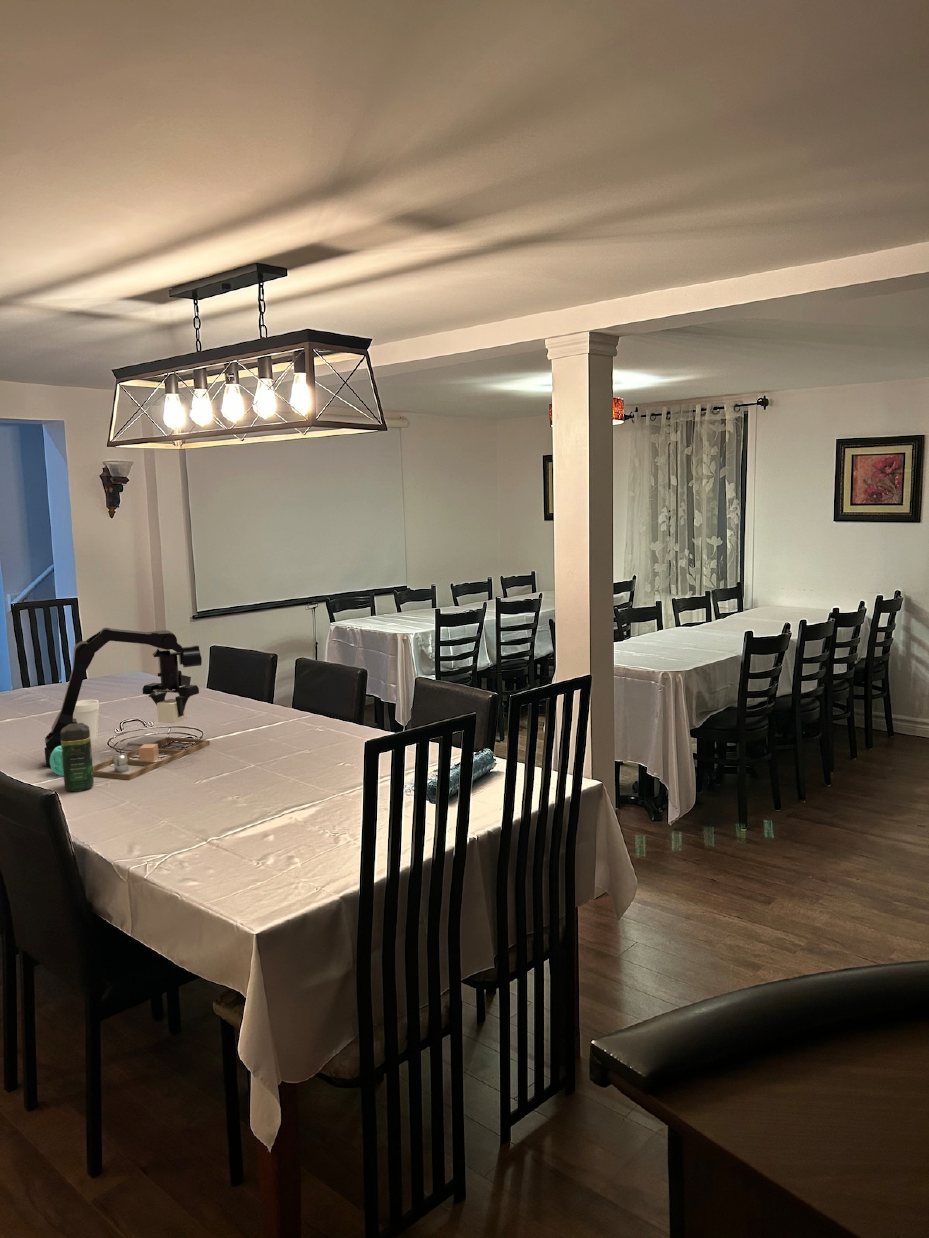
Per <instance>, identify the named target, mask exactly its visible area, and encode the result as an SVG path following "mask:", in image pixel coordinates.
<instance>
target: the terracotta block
mask: <svg viewBox="0 0 929 1238" xmlns="http://www.w3.org/2000/svg"><path fill="white" fill-rule="evenodd" d="M138 748H139V754H138V756H139V760H142V761H153V762H156V760H158V757H159V758H160V754H159V752H158V749H159V746H158V744H144V745H142V746H139V747H138Z"/></svg>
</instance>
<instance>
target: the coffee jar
mask: <svg viewBox="0 0 929 1238" xmlns="http://www.w3.org/2000/svg"><path fill="white" fill-rule="evenodd" d="M60 735H61V748H62V760H63V771H64V776H63V785H64V790H65V791H68V792H69V791H71V792H81V791H84V790H88V789H91V788H92V787H93V785H94V776H93V766H94V765H93V754H92V742H91V741H92V740H91V739H90V730H89V726H87V725H85V724H83V723H74V724H68V725H67V726H66V727H64V728H63V729H62V730H61V733H60Z"/></svg>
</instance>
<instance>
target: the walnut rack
mask: <svg viewBox="0 0 929 1238" xmlns="http://www.w3.org/2000/svg"><path fill="white" fill-rule="evenodd" d="M171 741H178V742H195V743H196V744H194V745H193V746H191V747H188V748H187V749H185V750H184V749H183V750H181V749H178V750H177V749H168V748H167V749H166V748H158V752H159V753H164V754H163V755H167V754H172V755H169V756H168V757H166V758H163V759H161V760H157V761H142V760H140V759H131V757H133V756H136V755H138V754H137V753H139V748H140V747H138V748H136V749H132V750H131V751H127V752H125V754H127V758H128V766H137V767H138V766H139V767H142V768H140V769H138V770H137V769H136V770H135V771H133V772H131V773H115V772H113V771H111V772H110V771H99V770H102V769H104V768H106V767H109V766H111V765H114V758H113V757H112V758H110V759H107V760H105V761H103V762H100V763H97V764H94V765H93V777H95V778H96V777H98V778H106V779H118V780H126V781H130V780H132V779H135V778H138V777H139V776H142V775H145V774H146V773H149V772H151V771H153V770H155V769H158V768H160V767H164V765H167V764H170V763H171V762H172V763H173V762H174V761H176V760H178V759H181V758H183V757H185V756H188V755H189V754H191V753H194V752H197V751H198V750H201V749H203V748H206V747H208V746H210V744H211V743H210V740H206V739H194V738H182V737H171V736H165V737H163V739H160V740H158V741H155V742H153V743H150V744H158V745H159V746H161V745H163V744H162V743H164V744H166V743H172V742H171ZM160 744H161V745H160ZM129 758H130V759H129Z"/></svg>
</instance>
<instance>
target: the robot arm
mask: <svg viewBox="0 0 929 1238" xmlns="http://www.w3.org/2000/svg"><path fill="white" fill-rule="evenodd" d="M109 642H120V643H132V644H139V645H142V644H143V645H148V646H152V647H154V648H156V650H155V651H154V652H153V653H152V656H153V657H154V658H158V660H159V663H158V664H159V672H158V673H157V677H160V682H152V683H147V684H145V685H143V686H142V689H141V690H142V694H143V695H148V698H151V699H152V701H153V703H155V705H156V706H157V703H159V702H162V701H165V700H166V699H165V698H166V696H167V693H173V694H174V693H175V694H177V695H178V696H175V698H174V699H176V703H177V708H178V712H179V715H180V716H182V715H183V712H184V709H185V705H186V706H187V702H188V700H189V699H190V697H193V696H195V695H198V694H200V688H199V686H198V684H197V685H196V684H191V681H192V677H191V676H188V675H184V674H182V670H179V665H180V666H182V667H183V668H191V667H200V666H202V659H203V658H202V655H201V651H200V645H192V646H184V647H183V646H182V645H181V644H179V643H178V638H177V636H176V635H175V634H174V633H173V632H172V631H170V630H166V629H164V630H153V631H141V630H140V631H138V630H129V629H119V628H118V629H117V628H110V627H103V628H102V629H100V630H99V631H98V632H97V633H95V634H94V635H92V636H90V637H89V638H87V639H86V640H81V641H79V642H78V643H76V644H75V645H74V647H73V659H72V670H71V673H70V677H69V681H68V685H67V688H66V690H65V693H64V698H63V701H62V702H63V703H62V705H61V708H60V711H59V712H58V714H57V716H56V718H55V720H54V722H53V724H52V726H51V731H50V732H49V733H48V734H47V735H46V736H45V737H44V743H45V746H46V747H44V757H45V763H43V764H42V765H41V766H42V767H44V768H51V766H50V756H51V753H52V751H53V750H54V749H55V748H56V747H58V746H61V735H60V733H61V730H62V729H63V728H64V727H66V726H67V725H68V724H74V723H77V720H76V719H73V713H74V710H75V706H76V703H77V701H78V700H79V699H78V698H79V695H80V692H81V689H82V688H81V687H82V685H83V681H84V677H85V674H86V671H87V670H88V668H89V667H90V665H91V663H92V661H93V659H94V657H95V655H96V654H95V653H97V652H98V651H99V650H101V649H102V648H103V647H104V646H105V645H107V643H109ZM160 649H162V650H160ZM170 650H172V651H174V652H171V651H170ZM178 663H179V664H178Z"/></svg>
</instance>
